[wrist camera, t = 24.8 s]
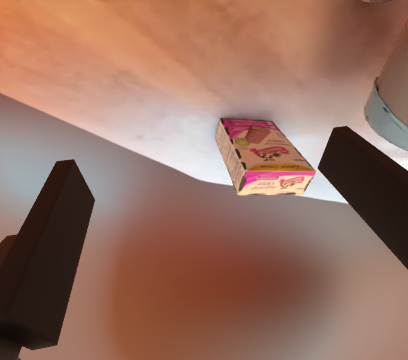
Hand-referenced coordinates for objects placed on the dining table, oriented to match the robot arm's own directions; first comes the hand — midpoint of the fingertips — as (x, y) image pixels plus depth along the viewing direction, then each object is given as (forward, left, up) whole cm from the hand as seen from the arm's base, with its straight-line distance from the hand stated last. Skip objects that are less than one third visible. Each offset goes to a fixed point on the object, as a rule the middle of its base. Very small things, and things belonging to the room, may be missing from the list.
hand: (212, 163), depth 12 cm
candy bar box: (+7, +18, -29) cm, 35 cm away
